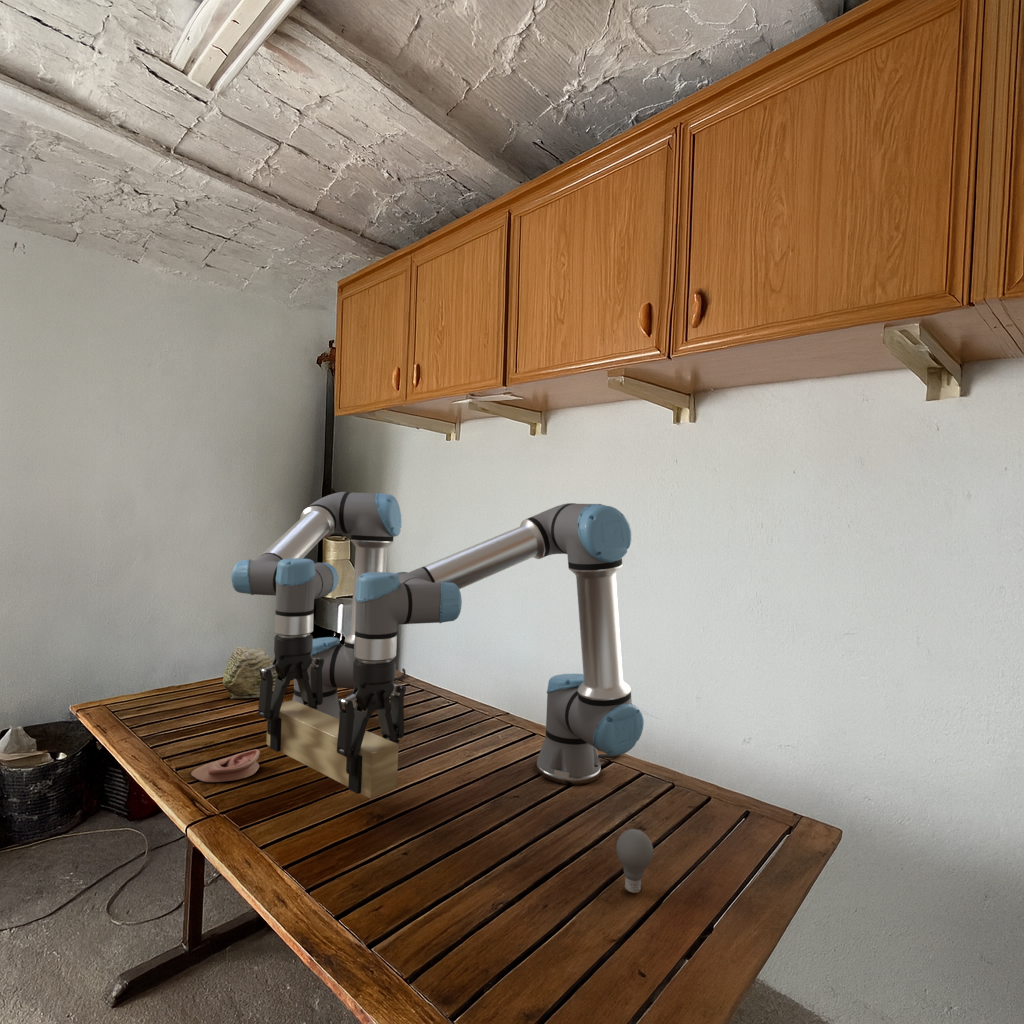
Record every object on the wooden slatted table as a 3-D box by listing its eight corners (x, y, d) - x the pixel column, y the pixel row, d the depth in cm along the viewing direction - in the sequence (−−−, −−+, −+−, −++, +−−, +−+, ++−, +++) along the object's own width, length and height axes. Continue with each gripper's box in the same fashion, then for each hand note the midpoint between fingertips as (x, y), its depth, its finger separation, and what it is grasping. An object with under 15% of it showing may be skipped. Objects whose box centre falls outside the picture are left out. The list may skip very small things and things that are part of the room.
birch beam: (266, 744, 131) (267, 706, 131) (292, 736, 136) (293, 699, 136) (370, 799, 110) (372, 753, 110) (397, 787, 115) (398, 744, 115)
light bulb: (610, 879, 108) (613, 822, 108) (644, 879, 109) (647, 822, 109) (619, 902, 102) (622, 840, 102) (655, 901, 103) (658, 840, 103)
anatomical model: (182, 760, 139) (216, 741, 150) (181, 778, 139) (216, 758, 150) (236, 768, 136) (267, 748, 147) (235, 786, 136) (266, 765, 147)
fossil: (218, 695, 195) (220, 647, 195) (278, 685, 208) (279, 640, 207) (228, 703, 189) (230, 653, 188) (289, 692, 201) (290, 645, 201)
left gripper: (323, 625, 140) (319, 728, 141) (240, 637, 126) (236, 752, 126) (343, 630, 136) (339, 737, 136) (260, 644, 121) (256, 764, 122)
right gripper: (401, 646, 124) (396, 763, 125) (317, 663, 109) (312, 795, 110) (427, 653, 120) (422, 774, 120) (343, 672, 105) (338, 810, 105)
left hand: (290, 744), depth 131 cm, fingers closed on birch beam, 6 cm apart
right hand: (369, 784), depth 115 cm, fingers closed on birch beam, 6 cm apart
